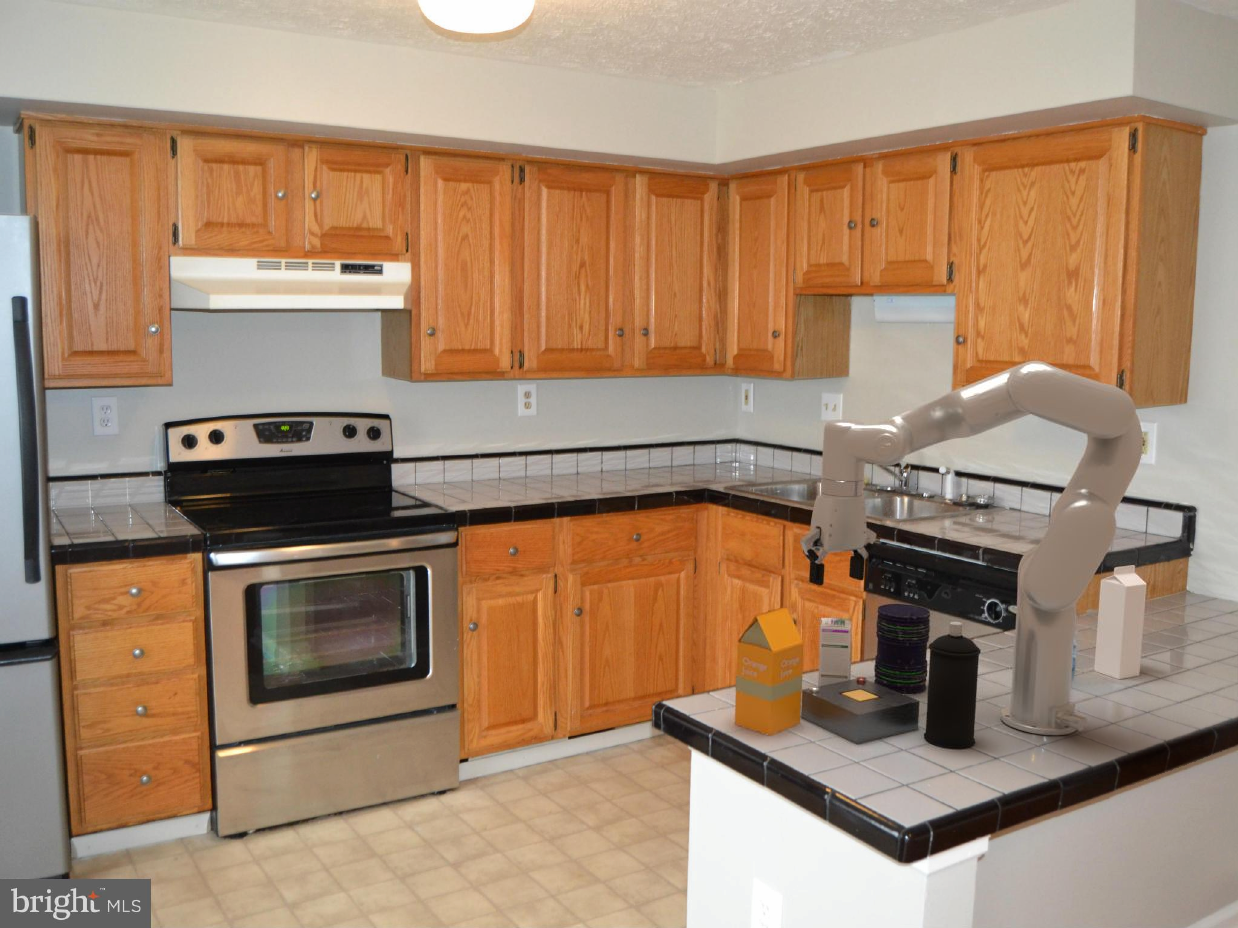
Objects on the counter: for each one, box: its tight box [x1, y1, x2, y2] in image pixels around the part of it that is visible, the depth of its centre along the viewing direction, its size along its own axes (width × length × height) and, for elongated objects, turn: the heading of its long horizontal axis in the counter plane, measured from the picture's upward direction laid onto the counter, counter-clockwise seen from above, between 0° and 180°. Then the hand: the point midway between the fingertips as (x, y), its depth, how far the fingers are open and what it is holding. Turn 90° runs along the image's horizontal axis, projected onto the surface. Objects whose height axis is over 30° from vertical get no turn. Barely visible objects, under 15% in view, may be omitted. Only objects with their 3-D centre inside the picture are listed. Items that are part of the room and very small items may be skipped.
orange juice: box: [734, 606, 804, 737], centre depth 185 cm, size 8×9×20 cm
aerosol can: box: [923, 621, 981, 750], centre depth 179 cm, size 8×8×20 cm
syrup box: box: [817, 617, 852, 687], centre depth 199 cm, size 6×6×14 cm
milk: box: [1093, 564, 1148, 680], centre depth 216 cm, size 6×6×22 cm
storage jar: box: [873, 603, 931, 695], centre depth 206 cm, size 10×10×15 cm
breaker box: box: [800, 676, 921, 745], centre depth 187 cm, size 14×14×6 cm
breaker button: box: [842, 689, 879, 703], centre depth 187 cm, size 4×4×3 cm
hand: (836, 581), depth 197 cm, fingers open, 9 cm apart
